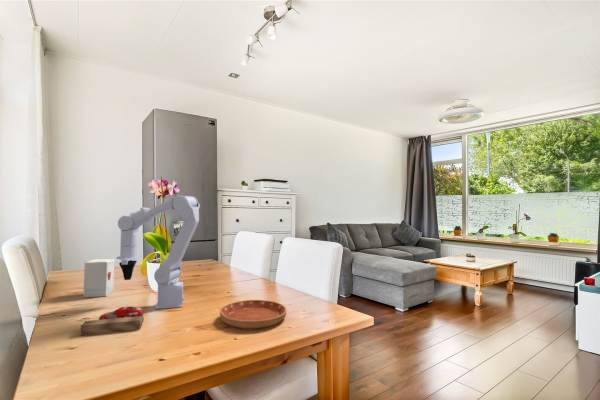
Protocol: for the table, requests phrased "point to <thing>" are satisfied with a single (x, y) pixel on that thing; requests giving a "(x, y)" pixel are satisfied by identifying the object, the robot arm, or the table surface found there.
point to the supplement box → (98, 278)
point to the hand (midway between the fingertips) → (127, 279)
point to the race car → (123, 313)
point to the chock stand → (111, 325)
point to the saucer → (253, 313)
